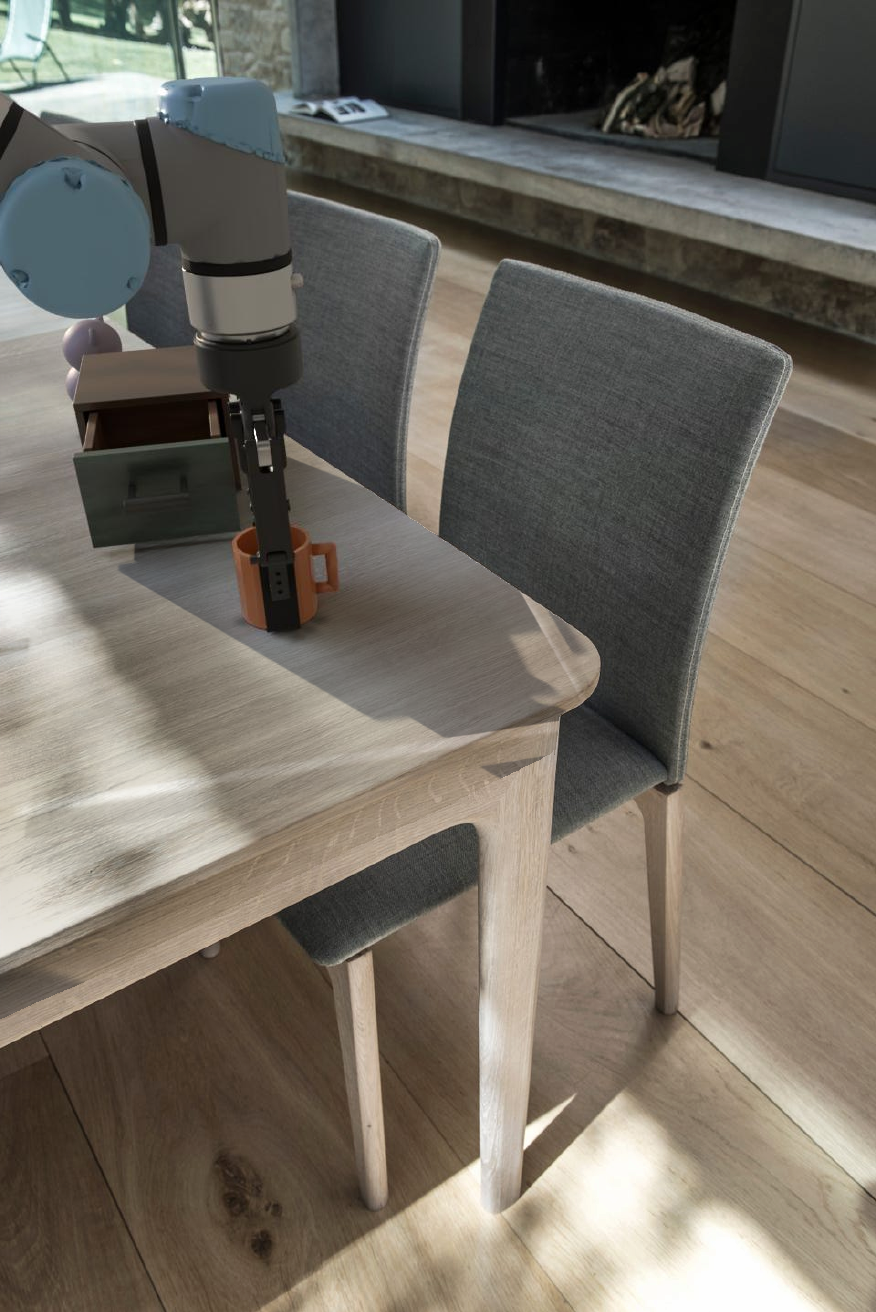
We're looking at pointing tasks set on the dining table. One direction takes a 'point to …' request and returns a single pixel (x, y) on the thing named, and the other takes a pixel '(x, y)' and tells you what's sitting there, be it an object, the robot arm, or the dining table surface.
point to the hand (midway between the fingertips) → (280, 606)
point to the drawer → (156, 474)
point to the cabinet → (146, 386)
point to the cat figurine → (87, 346)
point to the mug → (304, 574)
